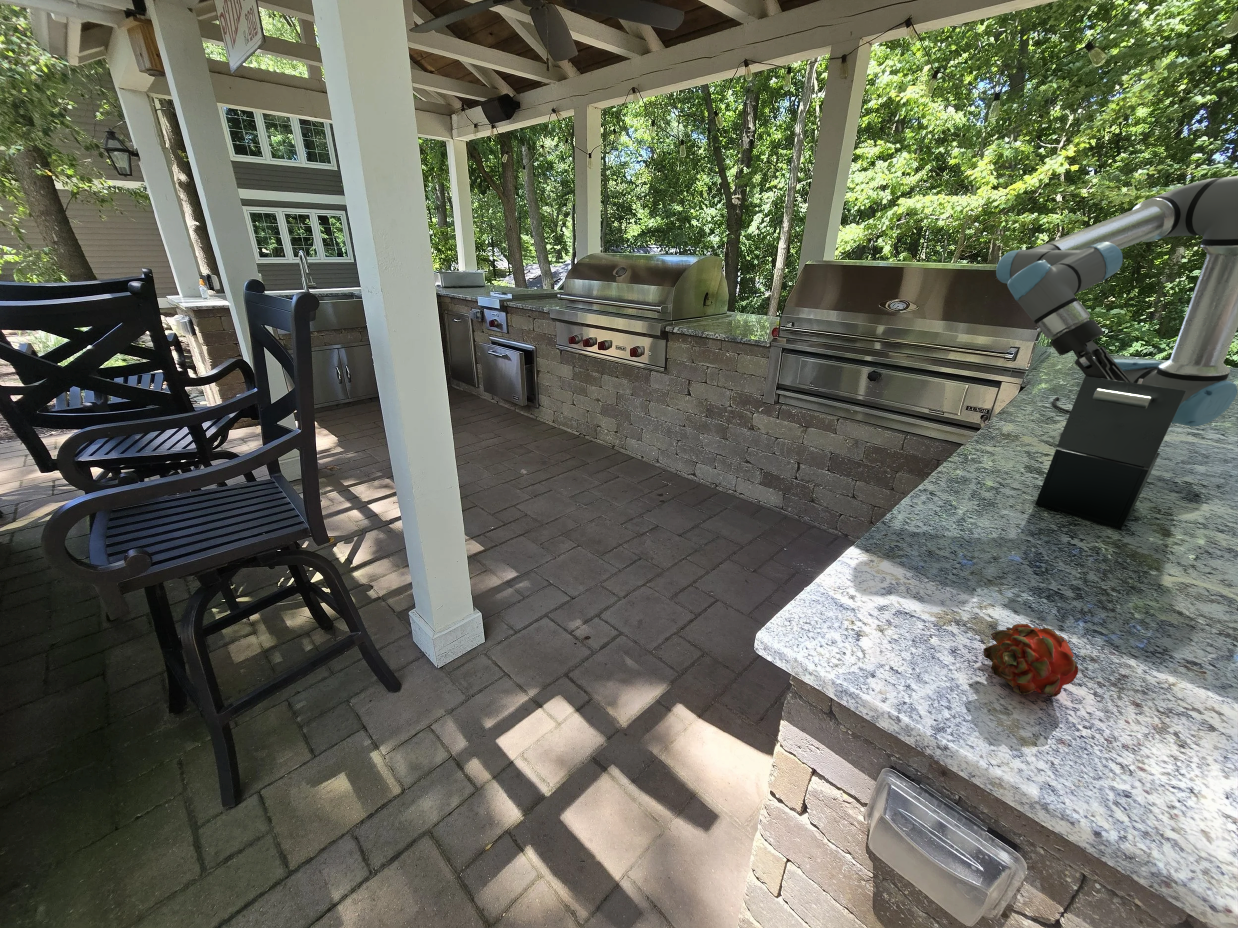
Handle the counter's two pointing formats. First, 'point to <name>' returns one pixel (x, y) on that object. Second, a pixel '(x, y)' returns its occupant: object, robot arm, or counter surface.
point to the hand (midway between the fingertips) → (1146, 425)
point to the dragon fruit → (1032, 659)
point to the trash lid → (1120, 420)
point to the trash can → (1093, 487)
